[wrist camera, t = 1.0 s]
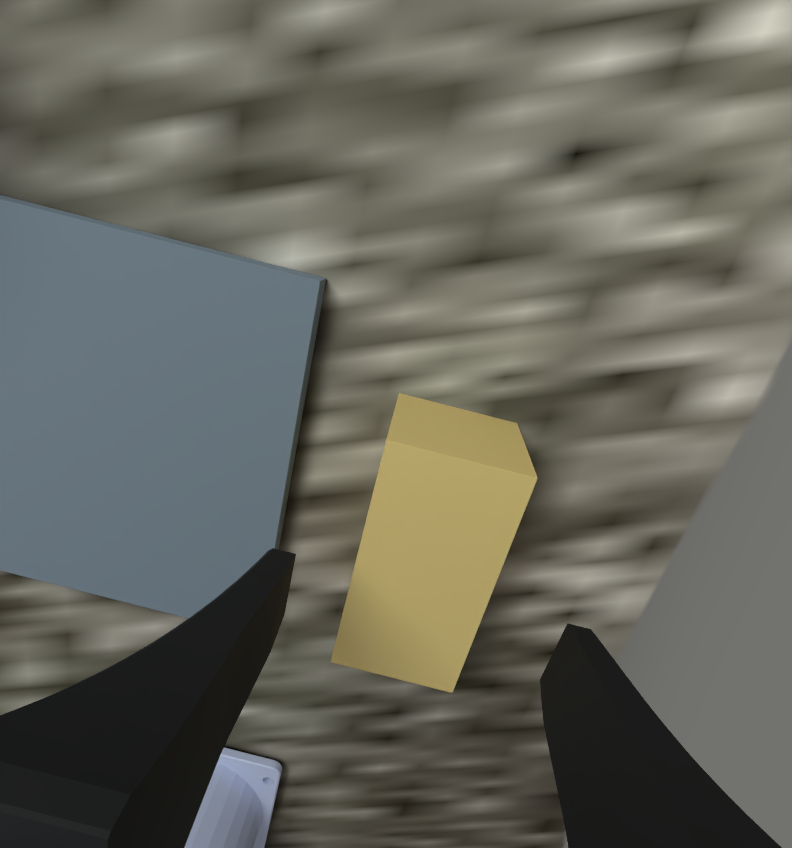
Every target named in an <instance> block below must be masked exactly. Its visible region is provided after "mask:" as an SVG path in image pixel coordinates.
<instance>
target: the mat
mask: <svg viewBox="0 0 792 848" xmlns="http://www.w3.org/2000/svg"><path fill="white" fill-rule="evenodd" d="M325 283H326V278H323V277H319V276H315V275H311V274H307V273H303V272H299V271H295V270H291V269H288V268H284V267H280V266H276V265H272V264H268V263H264V262H260V261H256V260H252V259H249V258H245V257H241V256H237V255H233V254H229V253H225V252H221V251H217V250H213V249H210V248H206V247H202V246H198V245H194V244H190V243H186V242H182V241H178V240H174V239H170V238H167V237H163V236H159V235H155V234H151V233H147V232H143V231H139V230H135V229H131V228H128V227H124V226H120V225H116V224H112V223H108V222H104V221H100V220H96V219H92V218H89V217H85V216H81V215H77V214H73V213H69V212H65V211H61V210H57V209H53V208H50V207H46V206H42V205H38V204H34V203H30V202H26V201H22V200H18V199H14V198H11V197H7V196H3V195H0V570H1V571H5V572H9V573H13V574H17V575H21V576H25V577H29V578H32V579H36V580H40V581H44V582H48V583H52V584H56V585H60V586H64V587H68V588H72V589H76V590H80V591H84V592H88V593H91V594H95V595H99V596H103V597H107V598H111V599H115V600H119V601H123V602H127V603H131V604H135V605H139V606H143V607H147V608H151V609H154V610H158V611H162V612H166V613H170V614H174V615H178V616H182V617H186V618H190V617H191V616H193V615H194V614H195V613H197V612H198V611H199V610H201V609H202V608H203V607H205V606H206V605H207V604H209V603H210V602H211V601H213V600H214V599H215V598H216V597H218V596H219V595H220V594H221V593H223V592H224V591H225V590H226V589H227V588H228V587H230V586H231V585H232V584H233V583H234V582H236V581H237V580H238V579H239V578H240V577H241V576H242V575H243V574H245V573H246V572H247V571H248V570H249V569H250V568H251V567H252V566H253V565H254V564H255V563H256V562H257V561H258V560H259V559H260V558H261V557H262V556H263V555H264V554H265V553H266V552H267V551H268V550H270V549H272V548H274V549H278V550H279V546H280V540H281V535H282V529H283V523H284V517H285V512H286V506H287V500H288V495H289V489H290V483H291V477H292V472H293V466H294V460H295V455H296V449H297V443H298V437H299V432H300V426H301V420H302V415H303V409H304V403H305V397H306V392H307V386H308V380H309V375H310V369H311V363H312V357H313V352H314V346H315V340H316V335H317V329H318V323H319V317H320V312H321V306H322V300H323V295H324V289H325Z"/></svg>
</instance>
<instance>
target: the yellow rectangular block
mask: <svg viewBox="0 0 792 848" xmlns="http://www.w3.org/2000/svg"><path fill="white" fill-rule="evenodd" d="M536 481H537V475H536V472H535V470H534V467H533V464H532V462H531V459H530V456H529V454H528V451H527V448H526V446H525V443H524V440H523V438H522V435H521V432H520V430H519V427H518V424H517V423H514V422H510V421H506V420H502V419H498V418H494V417H490V416H486V415H482V414H478V413H474V412H471V411H467V410H463V409H459V408H455V407H451V406H447V405H443V404H439V403H435V402H431V401H428V400H424V399H420V398H416V397H412V396H408V395H404V394H400V393H399V396H398V399H397V403H396V407H395V410H394V414H393V418H392V421H391V425H390V429H389V432H388V436H387V440H386V444H385V448H384V452H383V456H382V460H381V464H380V468H379V472H378V476H377V480H376V483H375V487H374V491H373V495H372V499H371V503H370V507H369V511H368V515H367V519H366V523H365V527H364V531H363V535H362V539H361V543H360V547H359V551H358V555H357V559H356V563H355V567H354V571H353V575H352V579H351V583H350V587H349V591H348V595H347V599H346V603H345V606H344V610H343V614H342V618H341V622H340V626H339V630H338V634H337V638H336V642H335V646H334V650H333V654H332V658H331V662H332V663H336V664H340V665H344V666H348V667H352V668H356V669H360V670H364V671H368V672H372V673H376V674H380V675H383V676H387V677H391V678H395V679H399V680H403V681H407V682H411V683H415V684H419V685H423V686H427V687H431V688H435V689H439V690H443V691H447V692H451V693H453V690H454V687H455V685H456V682H457V680H458V677H459V675H460V672H461V670H462V667H463V665H464V662H465V660H466V657H467V655H468V652H469V650H470V647H471V645H472V642H473V640H474V637H475V635H476V632H477V630H478V627H479V625H480V622H481V619H482V617H483V614H484V612H485V609H486V607H487V604H488V602H489V599H490V597H491V594H492V592H493V589H494V587H495V584H496V582H497V579H498V577H499V574H500V572H501V569H502V567H503V564H504V562H505V559H506V556H507V554H508V551H509V549H510V546H511V544H512V541H513V539H514V536H515V534H516V531H517V529H518V526H519V524H520V521H521V519H522V516H523V514H524V511H525V509H526V506H527V504H528V501H529V499H530V496H531V494H532V491H533V488H534V486H535V483H536Z"/></svg>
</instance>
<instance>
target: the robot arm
mask: <svg viewBox="0 0 792 848" xmlns="http://www.w3.org/2000/svg"><path fill="white" fill-rule="evenodd" d="M295 556H296V554H294V553H290V552H286V551H282V550H278V549H274V548H272V549H270V550H268V551H267V552H266V553H265V554H264V555H263V556H262V557H261V558H260V559H259V560H258V561H257V562H256V563H255V564H254V565H253V566H252V567H251V568H250V569H249V570H248V571H247V572H246V573H245V574H243V575H242V576H241V577H240V578H239V579H238V580H237V581H236V582H234V583H233V584H232V585H231V586H230V587H228V588H227V589H226V590H225V591H224V592H223V593H221V594H220V595H219V596H218V597H216V598H215V599H214V600H213V601H211V602H210V603H209V604H207V605H206V606H205V607H203V608H202V609H201V610H199V611H198V612H197V613H195V614H194V615H193V616H191V617H190V618H189V619H187V620H186V621H185V622H183V623H182V624H180V625H179V626H177V627H176V628H174V629H173V630H171V631H170V632H168V633H167V634H165V635H164V636H162V637H161V638H159V639H157V640H156V641H154V642H153V643H151V644H149V645H148V646H146V647H144V648H143V649H141V650H139V651H137V652H136V653H134V654H132V655H131V656H129V657H127V658H125V659H124V660H122V661H120V662H118V663H116V664H114V665H113V666H111V667H109V668H107V669H105V670H103V671H101V672H99V673H97V674H95V675H93V676H91V677H89V678H87V679H85V680H82V681H80V682H78V683H76V684H74V685H72V686H70V687H68V688H66V689H64V690H62V691H60V692H57V693H55V694H53V695H51V696H48V697H46V698H44V699H41V700H39V701H36V702H34V703H31V704H29V705H26V706H24V707H21V708H18V709H16V710H13V711H11V712H8V713H6V714H3V715H1V716H0V848H265V843H266V839H267V834H268V830H269V825H270V821H271V817H272V812H273V808H274V803H275V799H276V795H277V790H278V786H279V781H280V777H281V772H282V766H281V765H280V763H279V762H277V761H275V760H272V759H268V758H264V757H260V756H256V755H252V754H249V753H245V752H241V751H237V750H233V749H229V748H225V747H224V746H225V744H226V742H227V739H228V737H229V735H230V733H231V731H232V729H233V727H234V725H235V723H236V721H237V719H238V717H239V715H240V713H241V711H242V709H243V707H244V705H245V703H246V701H247V699H248V697H249V694H250V692H251V690H252V688H253V686H254V684H255V682H256V680H257V678H258V676H259V674H260V672H261V670H262V668H263V666H264V664H265V662H266V660H267V658H268V656H269V654H270V652H271V649H272V646H273V644H274V641H275V638H276V636H277V633H278V630H279V627H280V625H281V622H282V619H283V616H284V613H285V608H286V603H287V598H288V592H289V587H290V582H291V577H292V571H293V566H294V561H295ZM540 684H541V698H542V710H543V720H544V726H545V731H546V736H547V741H548V746H549V751H550V756H551V761H552V766H553V770H554V775H555V780H556V785H557V790H558V794H559V799H560V804H561V809H562V813H563V818H564V823H565V829H566V835H567V841H568V847H569V848H781V847H780V846H779V845H778V844H777V843H776V842H775V841H774V840H773V839H772V838H771V837H770V836H769V835H767V833H766V832H764V831H763V830H762V829H761V828H760V827H759V826H758V825H757V824H756V823H755V822H754V821H753V820H752V819H751V818H750V817H749V816H748V815H746V814H745V812H744V811H743V810H742V809H741V808H740V807H739V806H738V805H737V804H735V802H734V801H733V800H732V799H731V798H730V797H728V795H727V794H726V793H725V792H724V791H723V790H722V789H721V788H720V787H719V786H718V785H717V784H716V783H715V782H714V781H713V780H712V778H711V777H710V776H709V775H708V774H707V773H706V772H705V771H704V770H703V769H702V768H701V767H700V766H699V765H698V763H697V762H696V761H695V760H694V759H693V758H692V757H691V756H690V755H689V753H688V752H687V751H686V750H685V749H684V748H683V746H682V745H681V744H680V743H679V742H678V741H677V739H676V738H675V737H674V736H673V735H672V733H671V732H670V731H669V730H668V729H667V727H666V726H665V725H664V724H663V723H662V721H661V720H660V719H659V718H658V717H657V715H656V714H655V713H654V711H653V710H652V709H651V708H650V706H649V705H648V704H647V703H646V701H645V700H644V699H643V697H642V696H641V695H640V693H639V692H638V691H637V690H636V688H635V687H634V686H633V684H632V683H631V682H630V680H629V679H628V678H627V677H626V675H625V674H624V672H623V671H622V670H621V668H620V667H619V666H618V664H617V663H616V662H615V660H614V659H613V658H612V656H611V655H610V654H609V652H608V651H607V650H606V648H605V647H604V646H603V644H602V643H601V642H600V640H599V639H598V638H597V637H596V635H595V634H594V633H593V632H592V630H591V629H587V628H583V627H579V626H575V625H571V624H567V626H566V628H565V630H564V632H563V634H562V636H561V638H560V640H559V642H558V644H557V646H556V648H555V650H554V652H553V654H552V656H551V658H550V660H549V662H548V664H547V667H546V669H545V671H544V673H543V675H542V677H541V679H540Z"/></svg>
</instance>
